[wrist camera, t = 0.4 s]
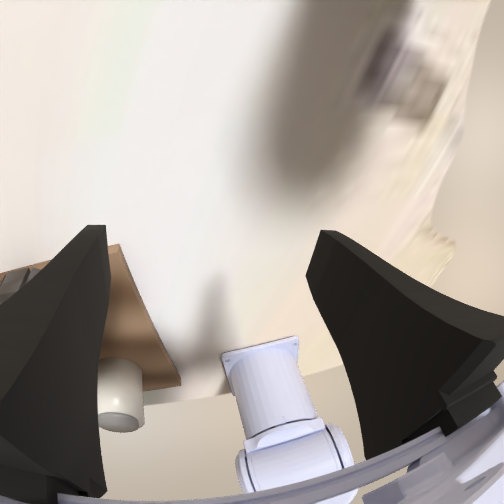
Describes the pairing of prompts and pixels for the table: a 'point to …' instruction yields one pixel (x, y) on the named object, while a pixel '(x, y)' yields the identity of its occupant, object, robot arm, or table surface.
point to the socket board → (117, 322)
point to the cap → (120, 395)
